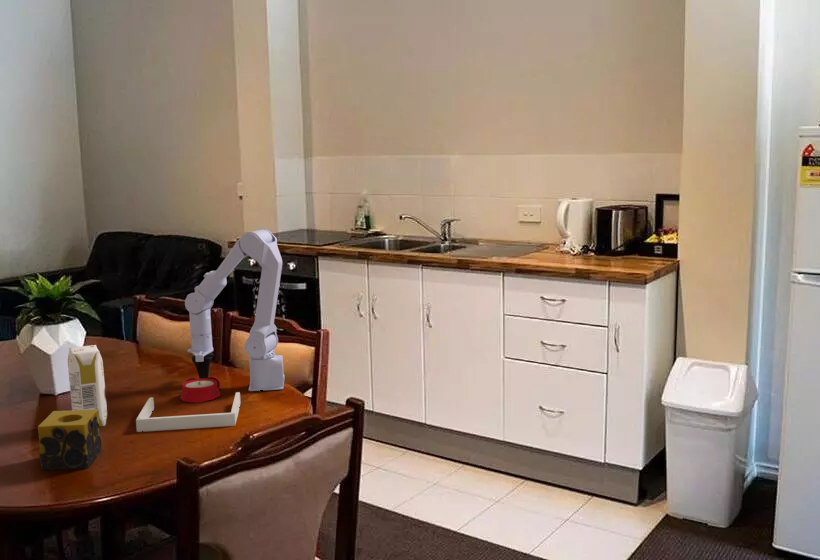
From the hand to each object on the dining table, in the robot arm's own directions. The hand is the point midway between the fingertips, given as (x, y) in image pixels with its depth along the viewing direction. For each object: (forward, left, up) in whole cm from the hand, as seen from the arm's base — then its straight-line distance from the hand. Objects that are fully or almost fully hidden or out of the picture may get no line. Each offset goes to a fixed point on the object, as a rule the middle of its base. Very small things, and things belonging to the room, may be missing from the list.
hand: (204, 380), depth 229 cm
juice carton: (+24, +29, -1) cm, 38 cm away
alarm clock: (0, +10, -2) cm, 10 cm away
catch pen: (0, +28, -1) cm, 28 cm away
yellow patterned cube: (+22, +53, -2) cm, 58 cm away
